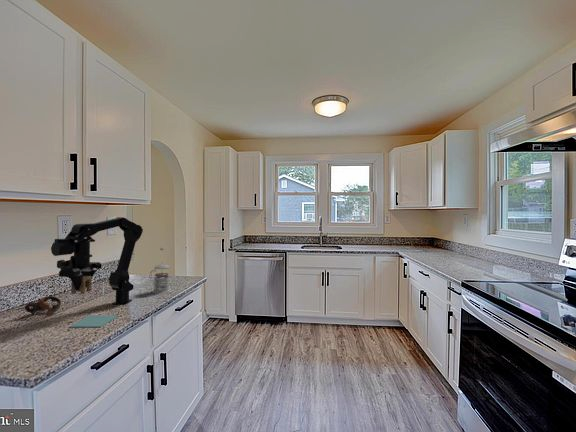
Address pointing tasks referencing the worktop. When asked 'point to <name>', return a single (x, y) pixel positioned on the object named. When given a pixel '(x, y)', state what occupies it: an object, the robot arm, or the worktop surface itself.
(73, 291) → the brown u-shaped block
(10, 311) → the worktop surface
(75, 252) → the robot arm
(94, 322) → the mat
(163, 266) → the french press
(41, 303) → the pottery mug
